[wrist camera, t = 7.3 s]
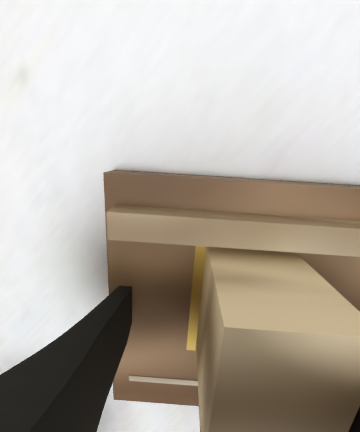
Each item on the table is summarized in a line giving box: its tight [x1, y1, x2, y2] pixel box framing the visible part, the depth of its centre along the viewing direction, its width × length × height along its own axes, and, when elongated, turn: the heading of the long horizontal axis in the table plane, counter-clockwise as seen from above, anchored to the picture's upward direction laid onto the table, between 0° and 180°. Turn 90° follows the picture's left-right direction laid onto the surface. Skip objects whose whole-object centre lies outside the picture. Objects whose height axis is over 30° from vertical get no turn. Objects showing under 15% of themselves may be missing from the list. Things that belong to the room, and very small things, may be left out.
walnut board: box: [104, 170, 360, 406], centre depth 11 cm, size 14×22×3 cm, turn 87°
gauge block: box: [196, 247, 360, 432], centre depth 9 cm, size 10×4×5 cm, turn 177°
